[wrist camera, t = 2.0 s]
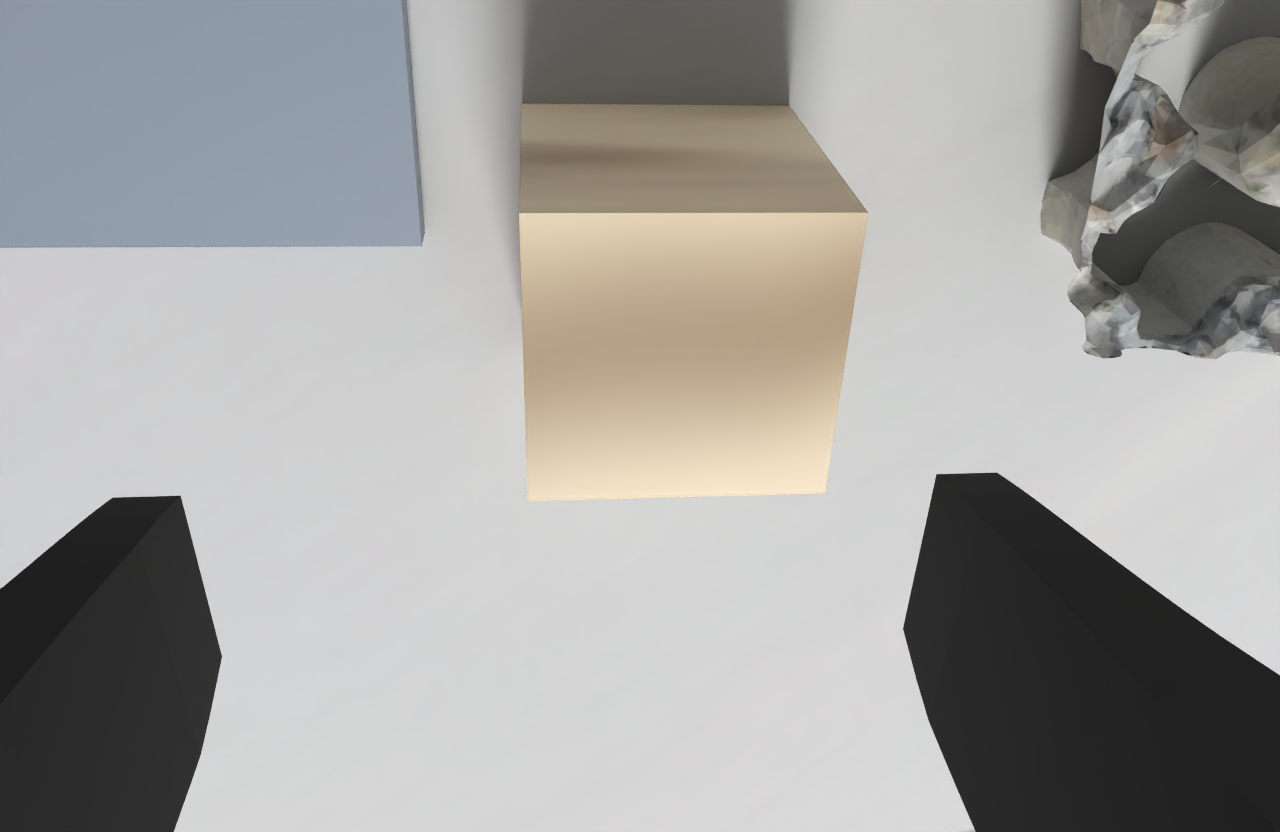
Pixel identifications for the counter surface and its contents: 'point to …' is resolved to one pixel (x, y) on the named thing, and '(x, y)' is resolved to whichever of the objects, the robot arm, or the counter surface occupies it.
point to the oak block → (681, 300)
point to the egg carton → (1139, 168)
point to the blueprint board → (207, 124)
